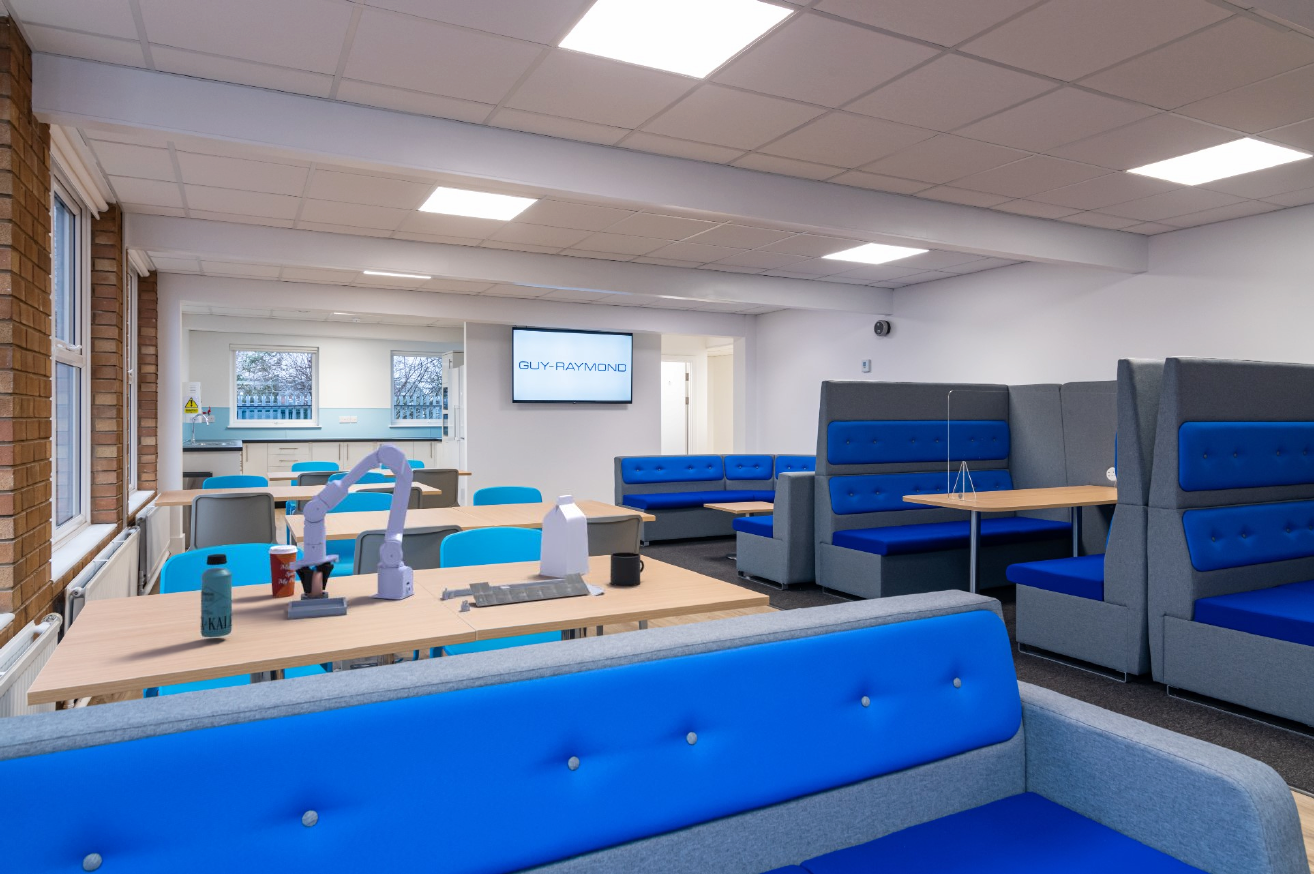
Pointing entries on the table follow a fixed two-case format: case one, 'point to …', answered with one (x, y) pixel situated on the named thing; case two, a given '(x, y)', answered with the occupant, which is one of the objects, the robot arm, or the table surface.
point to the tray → (317, 608)
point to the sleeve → (323, 596)
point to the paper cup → (282, 570)
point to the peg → (316, 584)
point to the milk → (564, 540)
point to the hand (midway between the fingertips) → (314, 591)
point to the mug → (625, 568)
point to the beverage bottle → (216, 599)
